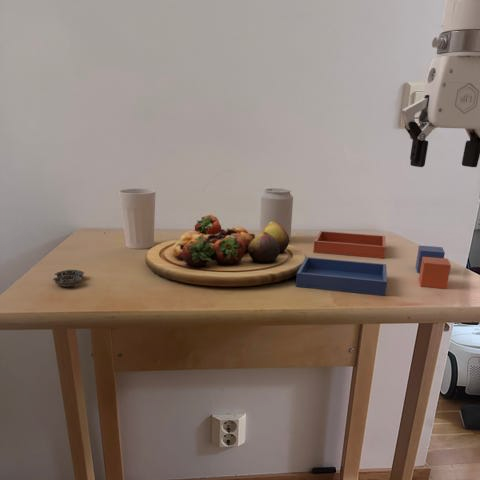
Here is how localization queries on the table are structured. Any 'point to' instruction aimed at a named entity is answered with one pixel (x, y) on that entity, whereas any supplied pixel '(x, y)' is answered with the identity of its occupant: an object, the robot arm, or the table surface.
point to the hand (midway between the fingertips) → (443, 166)
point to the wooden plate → (226, 256)
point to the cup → (138, 217)
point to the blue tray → (342, 276)
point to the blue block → (428, 254)
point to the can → (276, 208)
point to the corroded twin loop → (68, 277)
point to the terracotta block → (434, 272)
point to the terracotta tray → (350, 244)
